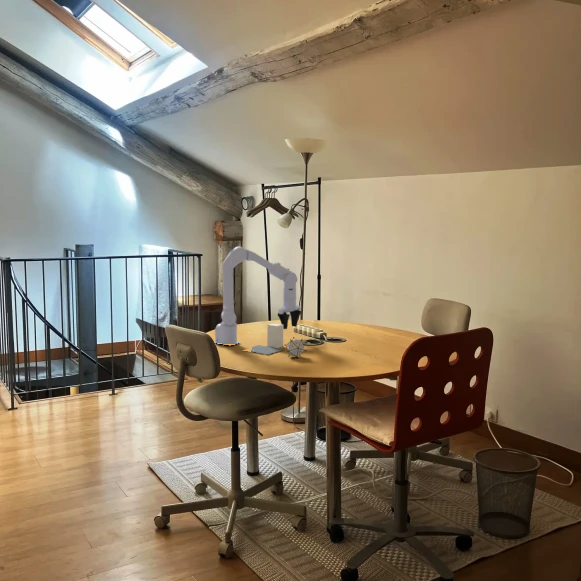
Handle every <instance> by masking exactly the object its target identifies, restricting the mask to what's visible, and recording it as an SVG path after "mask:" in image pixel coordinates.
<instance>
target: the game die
mask: <svg viewBox="0 0 581 581" xmlns="http://www.w3.org/2000/svg"><path fill="white" fill-rule="evenodd" d="M303 340H304V339H303V338H301V339H298V338H295V336H293V338H292V339H289V342H288V343H286V344H284V346H285V347H286V350H287V351H286V353H288V356H287V357H288V358H289V357H295V358H296V359H297V360H298V357H301V355H302V354H303V353H304V352H307V351H308V350H307V349H305V346H304V343H303Z"/></svg>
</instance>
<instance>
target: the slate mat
mask: <svg viewBox="0 0 581 581" xmlns="http://www.w3.org/2000/svg"><path fill="white" fill-rule="evenodd" d="M251 347H252V350H251V352H256V353H255V354H257V353H261V354H260V355H263V354H266V355H265V356H270V355H269V354H271V355H273V354H272V353H274V354H277V353H280V352H283V351H285V349H284V348H273V347H267V346H266V345H265V346H264V345H259V344H257V345H254V346H251ZM253 350H254V351H253ZM282 350H283V351H282ZM279 351H280V352H279ZM251 352H250V353H251ZM276 352H277V353H276Z"/></svg>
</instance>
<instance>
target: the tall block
mask: <svg viewBox="0 0 581 581" xmlns="http://www.w3.org/2000/svg"><path fill="white" fill-rule="evenodd" d="M266 339H267V347H273V348H279V347H281V348H283V347H284V329H283V324H281V323H270V324H267V338H266ZM282 346H283V347H282Z"/></svg>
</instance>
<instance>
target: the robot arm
mask: <svg viewBox="0 0 581 581" xmlns="http://www.w3.org/2000/svg"><path fill="white" fill-rule="evenodd" d="M244 261H247V262H251V261H252V262H255V263H256V264H258V265H261V266H262V267H264V268H265V269H267V271H268V274H270V275H272V276H273V277H275V278H277V279H279V280H280V281H283V298H282V299H283V300H282V301H283V306H282V308H280V309H278V313H277V317H278V318H279V321H280V324H283V330H287V329H288V324H289V319H290V322H291V327H295V328H296V327H298V326H297V325H298V321H299V318H300V317H301V315H302V310H301V306H300V305H297V282H298V276H297V275H296V273H295V272H293V271H291V269H290V268H287V267H285V266H283V265H282V264H281V263H280V262H279V261H278V262H270V261H269V260H267V259H266V258H264V257H263V256H261V255H259V254H258V253H256V252H254V251H252V250H250V249H247V248H244V247H242V246H239V245H237V246H236V247H234V248H232V249H231V250H230V251H229V253H228V254H227V256H226V257H225V259H224V261H223V262H222V301H223V302H222V303H223V304H222V308H223V309H222V311H221V314H220V318H221V320H222V321H221V322H220V323H218V324H217V325H216V327H215V328H214V332H215V333H214V337H215V339H214V343H215V342H216V343H222V344H237V345H239V344H238V343H242V342H239V341H238V335H237V334H238V323H237V315H236V313H235V306H234V304H235V303H234V302H235V300H234V268H235V267H237V265H238V264H240V263H242V262H244ZM288 313H289V314H288Z"/></svg>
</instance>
